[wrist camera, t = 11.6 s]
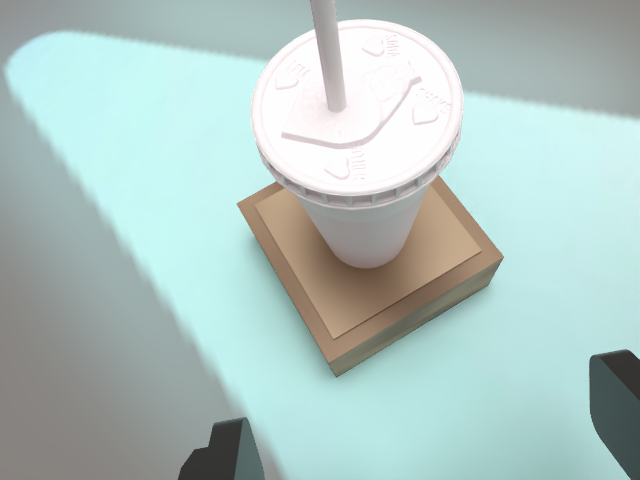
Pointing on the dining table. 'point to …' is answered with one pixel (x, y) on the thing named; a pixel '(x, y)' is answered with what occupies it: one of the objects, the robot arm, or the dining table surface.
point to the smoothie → (358, 128)
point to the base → (372, 272)
